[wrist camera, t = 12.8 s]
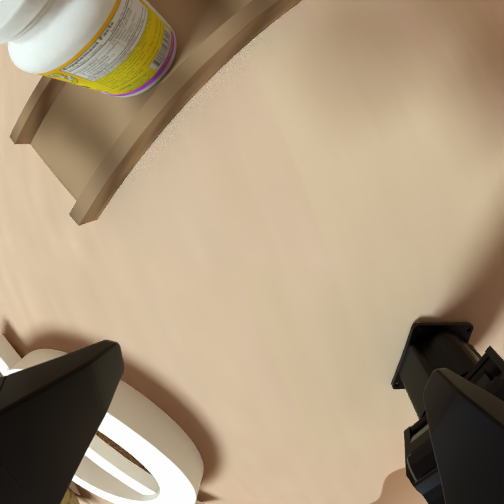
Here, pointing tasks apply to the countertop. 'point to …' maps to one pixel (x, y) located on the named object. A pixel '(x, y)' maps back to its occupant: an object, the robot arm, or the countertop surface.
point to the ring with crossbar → (129, 446)
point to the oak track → (134, 101)
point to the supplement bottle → (90, 42)
